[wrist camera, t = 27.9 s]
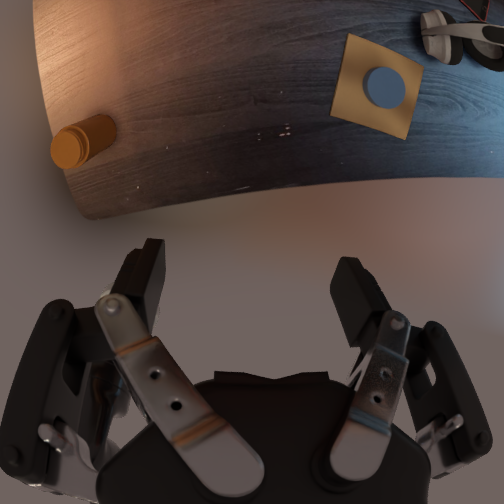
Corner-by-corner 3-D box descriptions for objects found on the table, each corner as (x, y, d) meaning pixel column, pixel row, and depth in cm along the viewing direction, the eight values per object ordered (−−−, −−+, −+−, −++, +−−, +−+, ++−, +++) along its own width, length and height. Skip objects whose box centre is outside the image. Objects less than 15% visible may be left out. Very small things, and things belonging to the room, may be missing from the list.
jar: (119, 145, 33) (88, 166, 26) (89, 153, 33) (54, 176, 26) (112, 109, 30) (77, 122, 23) (81, 120, 30) (43, 136, 23)
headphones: (480, 24, 20) (572, 36, 4) (489, 69, 25) (581, 97, 8) (391, 10, 23) (495, -11, 6) (405, 64, 27) (515, 79, 11)
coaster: (403, 139, 34) (405, 140, 33) (328, 114, 32) (330, 115, 32) (421, 66, 27) (424, 66, 27) (347, 33, 26) (348, 33, 25)
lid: (369, 59, 27) (374, 59, 26) (404, 78, 28) (410, 78, 27) (356, 97, 30) (362, 98, 29) (392, 113, 31) (398, 115, 30)
